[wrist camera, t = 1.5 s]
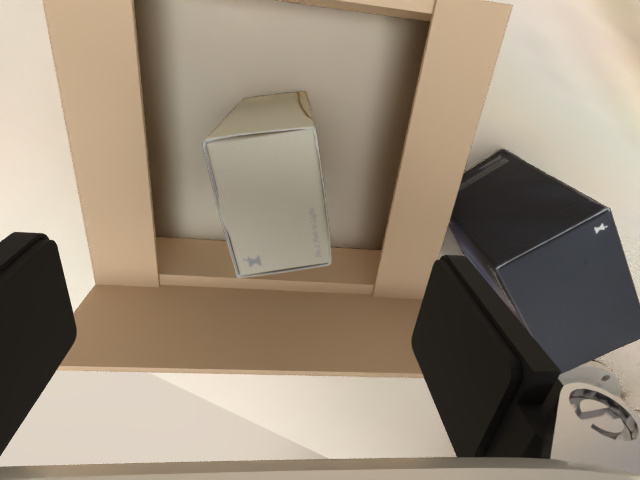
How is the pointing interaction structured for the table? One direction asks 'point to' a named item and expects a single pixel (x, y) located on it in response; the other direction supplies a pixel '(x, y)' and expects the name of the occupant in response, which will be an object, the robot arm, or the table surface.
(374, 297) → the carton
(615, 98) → the table surface
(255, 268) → the skincare box
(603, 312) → the small box
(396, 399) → the table surface
